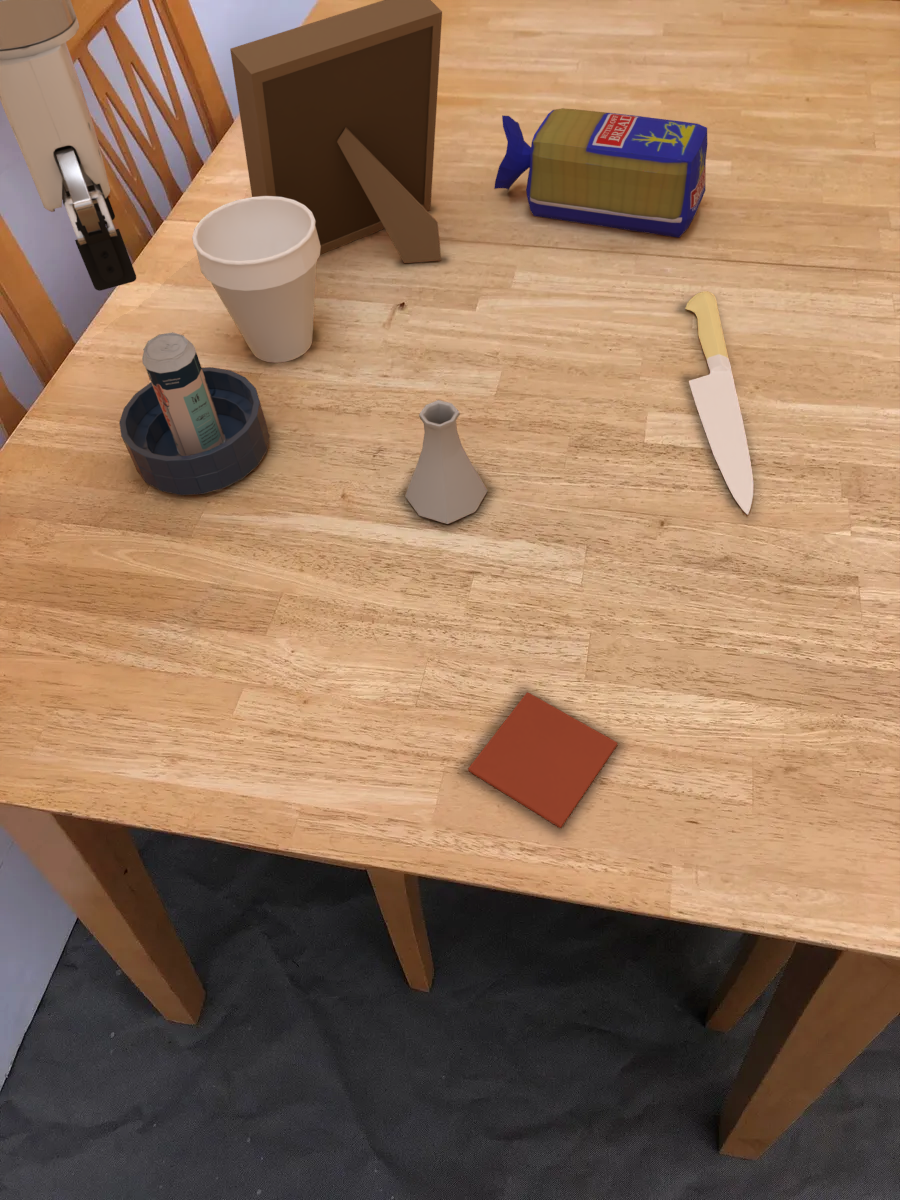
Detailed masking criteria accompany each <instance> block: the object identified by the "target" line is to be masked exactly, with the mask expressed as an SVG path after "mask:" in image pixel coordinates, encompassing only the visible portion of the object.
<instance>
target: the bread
mask: <svg viewBox="0 0 900 1200" xmlns="http://www.w3.org/2000/svg"><path fill="white" fill-rule="evenodd" d="M501 116H502V117H501V121H502V128H503V131H504V134H505V138H506V141H507V143H506V151H505V154H504V157H503V159H502V160H501V162H500V164H499V165H498V169H497V173H496V176H495V181H494V186H493V189H494V190H497V189H506V190H507V191H509V190H510V189H511V187H512V186H513V184H514V183H515V182H516V181H517V180H518V179H519V177H521V175H523V173H525V172H526V171H527V170H528V175H527V180H526V181H527V182H526V187H525V192H526V198H527V202H528V207H529V211H530V212H531V215H533V217H537V218H545V219H551V220H558V221H565V222H571V223H578V224H584V225H591V226H598V227H603V228H605V227H606V228H612V229H618V230H624V231H632V232H639V233H646V234H652V235H659V236H666V237H672V238H681V237H682V235H683V234H684V233H685V232H686V231H687V230H688V229H689V227H690V226H691V223H692V222H693V220H694V217H695V216H696V215H697V214H696V213H697V212H698V209H699V207H700V204H701V202H702V200H703V198H704V196H705V195H704V194H705V192H706V176H707V175H706V170H707V167H706V163H707V162H706V161H707V151H708V127H707V126H705V125H702V124H699V123H696V122H688V121H683V120H682V121H681V120H672V119H665V118H657V117H649V116H642V115H634V114H626V113H615V112H606V111H605V112H604V111H595V110H587V109H586V110H585V109H578V108H577V109H576V108H564V107H563V108H556V109H552V110H551V111H549V112H548V113H547V115H546V116H545V117H544V119H543V121H542V122H541V124H540V125H539V127H538V128H537V130H536V131H535V133H534V134H533V137H532V140H531V144H530V145H529V144H528V143H527V142H526V141H525V138H524V134H523V131H522V129H521V126H520V123H519V122H518V121H516V120H515V119H514V118H512V116H510V115H501Z"/></svg>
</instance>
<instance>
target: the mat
mask: <svg viewBox="0 0 900 1200" xmlns="http://www.w3.org/2000/svg"><path fill="white" fill-rule="evenodd" d="M617 746H618V742H617V741H616V740H613V739H612V738H610V737H608V736H606V735H605V734H603V733H601V732H599V731H597V730H596V729H594V728H592V727H591V726H589V725H587V724H585V723H583V722H582V721H580V720H578V719H576V718H575V717H573V716H571V715H569V714H568V713H566V712H564V711H562V710H560V709H558V708H557V707H555V706H553V705H551V704H550V703H548V702H546V701H545V700H542V699H541V698H540V697H539V698H538V697H537V696H535V694H534V695H533V694H532V693H530V692H528V691H527V692H526V693H525V694H524V695H523V697H522V698H521V699H520V700H519V702H518V703H517V704H516V705H515V707H514V709H513V710H512V711H511V712H510V714H509V715H508V716H507V717H506V719H505V720H504V721H503V723H502V724H501V725H500V726H499V728H498V729H497V730H496V732H495V733H494V734H493V736H492V737H491V738H490V739H489V741H488V742H487V743H486V744H485V746H484V747H483V749H482V750H481V751H480V752H479V754H478V755H477V756H476V758H475V759H474V760H473V762H471V764H470V766H469V767H468V768H467V771H468V772H469V773H471V774H472V775H474V776H476V777H477V778H479V779H481V780H482V781H484V782H486V783H487V784H489V785H490V786H492V787H494V788H495V789H497V790H498V791H500V792H501V793H503V794H504V795H506V796H508V797H509V798H511V799H512V800H514V801H516V802H518V803H519V804H520V805H523V806H524V807H526V808H527V809H529V810H530V811H532V812H534V813H535V814H536V815H539V816H540V817H542V818H543V819H545V820H546V821H548V822H550V823H552V824H553V825H555V826H557V827H558V828H559V829H561V828H563V826H564V824H565V823H566V821H567V820H568V819H569V817H570V816H571V814H572V813H573V811H574V810H575V808H576V806H577V805H578V803H579V802H580V801H581V799H582V798H583V796H584V795H585V794H586V792H587V790H588V789H589V788H590V786H591V784H592V783H593V782H594V780H595V779H596V777H597V776H598V774H599V773H600V771H601V770H602V768H603V767H604V765H606V762H607V761H608V760H609V758H610V757H611V756H612V754H613V752H614V751H615V749H616V748H617Z"/></svg>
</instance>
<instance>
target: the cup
mask: <svg viewBox="0 0 900 1200" xmlns="http://www.w3.org/2000/svg"><path fill="white" fill-rule="evenodd" d="M315 222H316V221H315V218H314V216H313V213H312V212H311V211H310V210H309V209H308V208H307V207H306V206H305V205H303V204H301V203H299V202H297V201H295V200H292V199H288V198H284V197H276V196H259V197H252V196H250V197H245V198H240V199H235V200H233V201H230V202H227V203H225V204H222V205H219V206H218V207H216V208H214V209H213V210H211V211H209V212H208V213H207V214H206V215H204V217H202V218H201V219H200V220H199V222H198V223H197V224H196V226H195V227H194V228H193V233H192V237H191V241H192V243H193V248H194V249H195V250H196V255H197V259H198V265H199V268H200V272H201V274H202V275H203V276H204V277H205V279H206V280H207V281H209V282H210V283H211V285H212V287H213V288H214V290H215V292H216V293H217V295H218V297H219V299H220V300H221V303H222V304H223V305H224V307H225V309H226V310H227V312H228V314H229V315H230V317H231V319H232V321H233V322H234V324H235V325H236V327H237V329H238V330H239V333H240V334H241V336H242V338H243V340H244V341H245V343H246V345H247V346H248V348H249V350H250V351H251V353H252V355H254V357H255V358H256V359H259V360H260V361H263V362H267V363H275V364H277V363H285V362H290V361H293V360H295V359H298V358H301V356H303V355H304V354H306V353H307V352H308V351H309V350H310V348H311V346H312V345H313V335H314V318H315V317H314V316H315V298H316V279H317V263H318V260H319V258H320V256H321V254H320V248H321V245H320V242H319V238H318V234H317V230H316V226H315Z"/></svg>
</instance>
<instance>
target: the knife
mask: <svg viewBox="0 0 900 1200" xmlns="http://www.w3.org/2000/svg"><path fill="white" fill-rule="evenodd" d="M684 309H685V310H686V311H687V310H688V311H690V312H692V313H694V314H695V316H696V318H697V334H698V335H697V336H698V338H699V341H700V346H701V348H702V351H703V354H704V356H705V359H706V363H707V366H708V369H709V374H706V375H703V376H700V377H697V378H693V379H690V380H688V384H689V388H690V390H691V393H692V398H693V400H694V404H695V407H696V409H697V412H698V415H699V418H700V421H701V424H702V426H703V430H704V432H705V435H706V438H707V441H708V444H709V446H710V449H711V452H712V454H713V458H714V459H715V461H716V464H717V467H718V468H719V470H720V473H721V474H722V477H723V479H724V481H725V483H726V486H727V488H728V489H729V492H730V493H731V495H732V497H733V499H734V501H735V502H736V503H737V505H738V506H739V507H740V509H741V510H742V511H743V512H744V513H745V515H747V516H749V514H750V511H751V507H752V503H753V498H754V476H753V469H752V468H753V467H752V463H751V457H750V449H749V445H748V444H749V443H748V440H747V436H746V429H745V424H744V419H743V415H742V411H741V406H740V402H739V398H738V392H737V389H736V384H735V380H734V375H733V371H732V366H731V362H730V359H729V353H728V349H727V345H726V341H725V336H724V335H725V334H724V330H723V326H722V321H721V317H720V312H719V306H718V301H717V298H716V296H715V294H713V293H712V292H711V291H709V290H706V291H705V290H704V291H700V292H698V293H695V295H693V297H691V298H690V299H689V301H688V302H687V304H686V306H685V307H684Z"/></svg>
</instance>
